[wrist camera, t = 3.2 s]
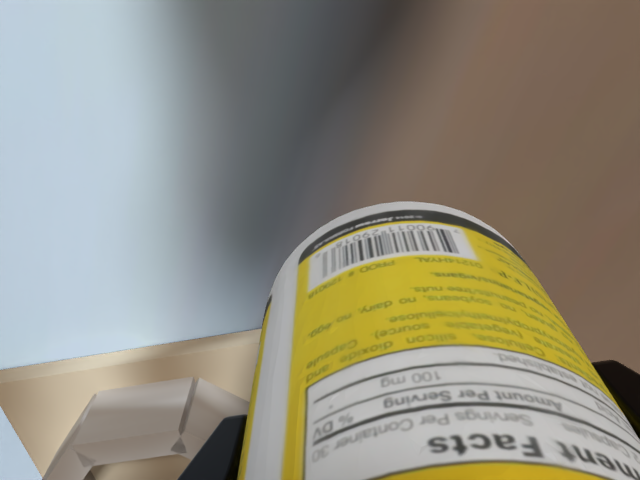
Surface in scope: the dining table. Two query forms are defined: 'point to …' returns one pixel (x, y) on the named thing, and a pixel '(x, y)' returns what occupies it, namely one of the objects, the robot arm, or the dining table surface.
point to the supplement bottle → (424, 362)
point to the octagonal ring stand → (129, 407)
